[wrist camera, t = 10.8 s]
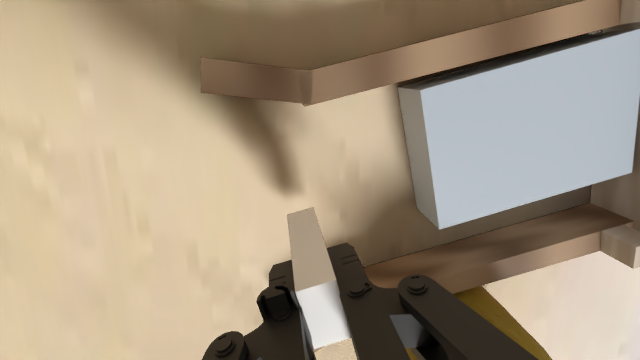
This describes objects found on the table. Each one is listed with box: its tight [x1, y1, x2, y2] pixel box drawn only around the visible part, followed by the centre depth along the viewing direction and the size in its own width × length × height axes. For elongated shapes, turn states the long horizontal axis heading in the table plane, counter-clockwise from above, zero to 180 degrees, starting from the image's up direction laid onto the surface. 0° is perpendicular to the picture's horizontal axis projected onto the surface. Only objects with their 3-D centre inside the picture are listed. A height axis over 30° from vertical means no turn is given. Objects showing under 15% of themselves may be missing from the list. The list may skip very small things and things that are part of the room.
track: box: [201, 0, 640, 352], centre depth 18 cm, size 24×18×5 cm
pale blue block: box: [398, 28, 640, 230], centre depth 19 cm, size 12×8×4 cm, turn 104°
